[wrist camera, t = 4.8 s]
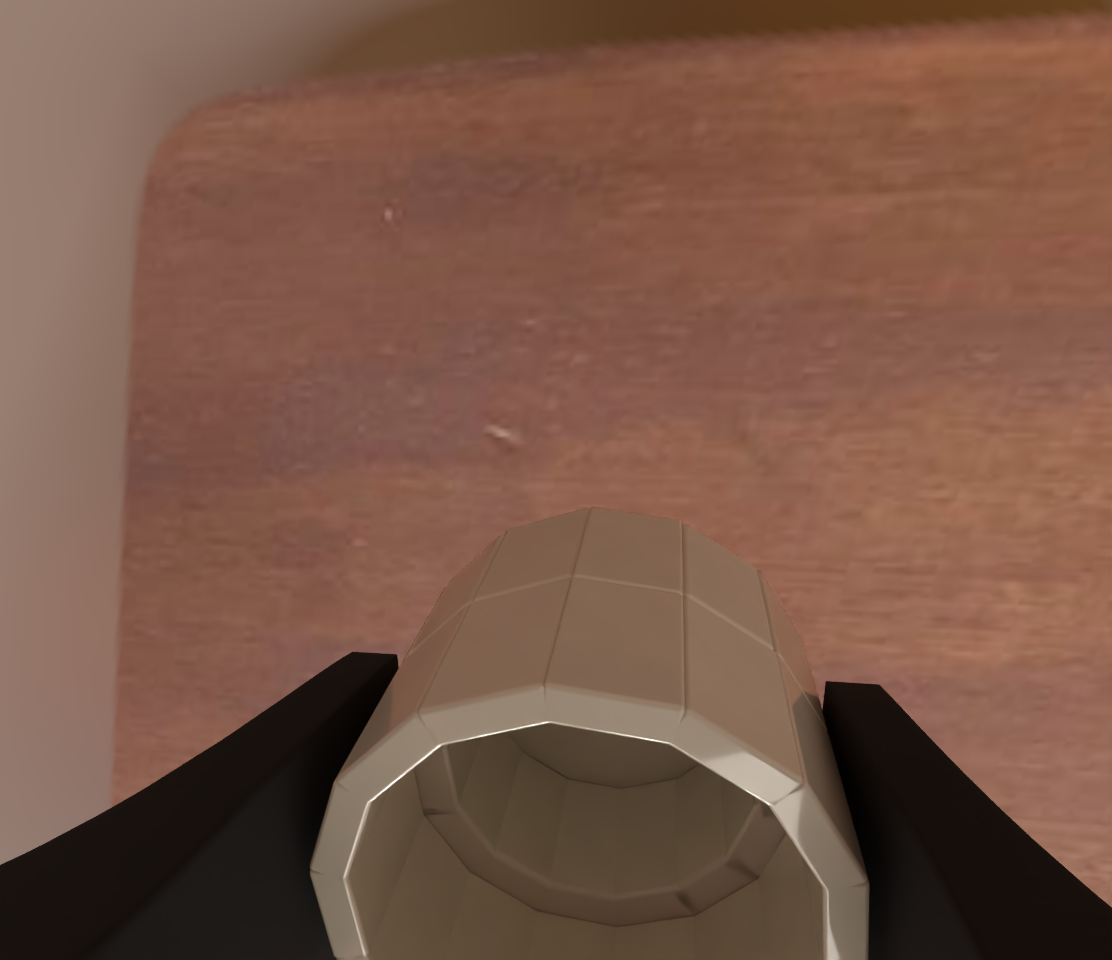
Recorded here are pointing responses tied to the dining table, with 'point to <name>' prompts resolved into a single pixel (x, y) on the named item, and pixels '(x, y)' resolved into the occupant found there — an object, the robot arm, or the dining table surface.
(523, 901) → the small beige cup
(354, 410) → the dining table surface
